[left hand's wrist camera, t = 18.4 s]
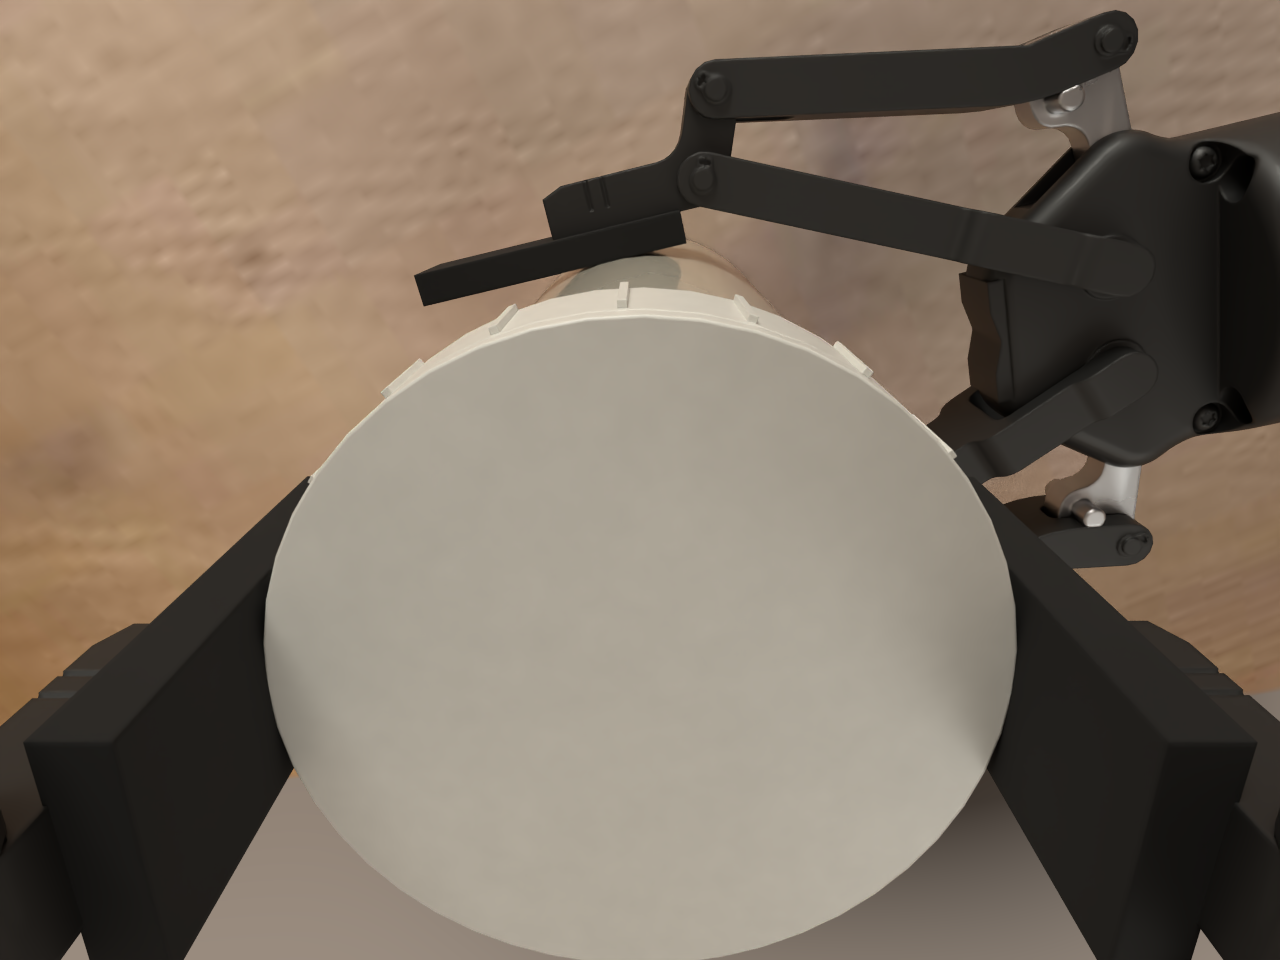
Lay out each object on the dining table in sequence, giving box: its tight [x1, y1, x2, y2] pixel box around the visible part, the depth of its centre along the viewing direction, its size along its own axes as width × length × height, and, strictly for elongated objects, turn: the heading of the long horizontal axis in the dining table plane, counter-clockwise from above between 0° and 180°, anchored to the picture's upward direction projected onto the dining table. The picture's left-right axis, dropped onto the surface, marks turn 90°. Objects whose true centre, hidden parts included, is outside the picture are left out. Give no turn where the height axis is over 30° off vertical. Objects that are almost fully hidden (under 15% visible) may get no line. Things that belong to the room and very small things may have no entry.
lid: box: [263, 282, 1017, 960], centre depth 11 cm, size 9×9×2 cm
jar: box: [535, 240, 783, 318], centre depth 21 cm, size 8×8×16 cm
